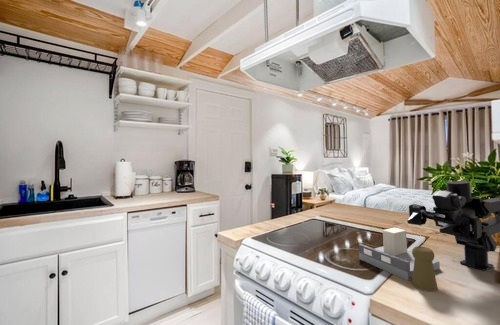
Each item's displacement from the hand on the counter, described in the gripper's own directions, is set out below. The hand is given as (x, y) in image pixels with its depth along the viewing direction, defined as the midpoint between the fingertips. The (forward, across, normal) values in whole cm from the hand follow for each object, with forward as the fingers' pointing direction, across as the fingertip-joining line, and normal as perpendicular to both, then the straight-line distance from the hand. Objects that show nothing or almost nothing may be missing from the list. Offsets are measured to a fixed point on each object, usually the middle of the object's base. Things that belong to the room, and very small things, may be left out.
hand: (423, 226), depth 70 cm
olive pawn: (+4, +2, +16) cm, 17 cm away
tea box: (-6, -14, +16) cm, 22 cm away
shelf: (-2, -11, +18) cm, 21 cm away
